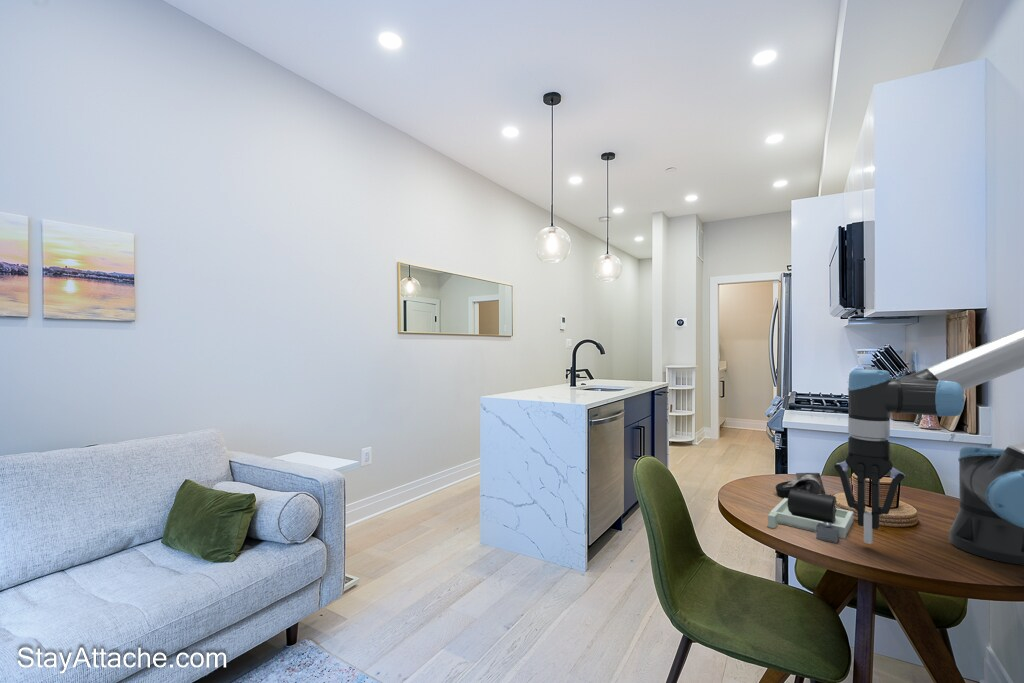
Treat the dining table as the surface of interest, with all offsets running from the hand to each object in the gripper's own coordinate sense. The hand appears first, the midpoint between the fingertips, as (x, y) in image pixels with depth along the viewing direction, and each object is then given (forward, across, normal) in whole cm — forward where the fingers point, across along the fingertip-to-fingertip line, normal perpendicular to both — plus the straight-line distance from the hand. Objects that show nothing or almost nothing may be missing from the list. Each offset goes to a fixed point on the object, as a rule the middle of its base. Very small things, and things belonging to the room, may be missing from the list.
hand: (868, 541), depth 107 cm
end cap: (+1, +13, -10) cm, 16 cm away
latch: (+2, +8, 0) cm, 8 cm away
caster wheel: (+2, +20, -31) cm, 37 cm away
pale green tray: (+2, +13, -8) cm, 15 cm away
